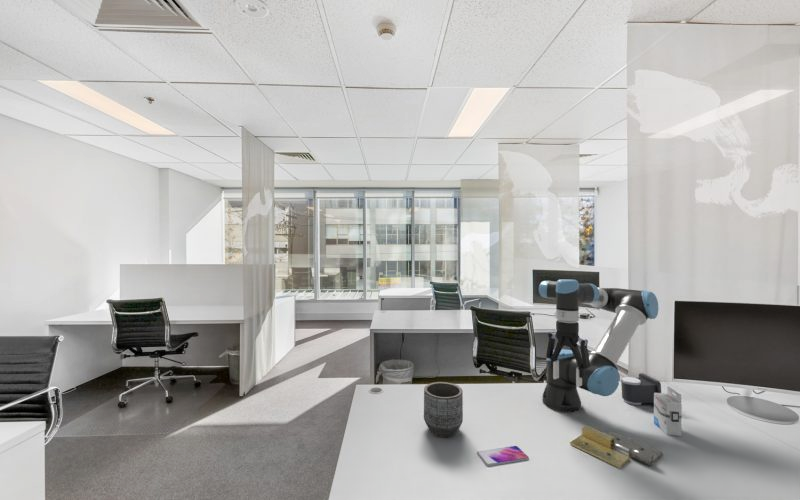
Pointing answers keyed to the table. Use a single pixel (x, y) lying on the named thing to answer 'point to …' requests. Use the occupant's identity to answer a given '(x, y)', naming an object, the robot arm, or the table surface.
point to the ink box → (668, 411)
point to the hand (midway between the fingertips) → (567, 381)
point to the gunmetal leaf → (636, 449)
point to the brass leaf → (599, 446)
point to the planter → (443, 408)
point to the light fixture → (639, 389)
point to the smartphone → (502, 456)
